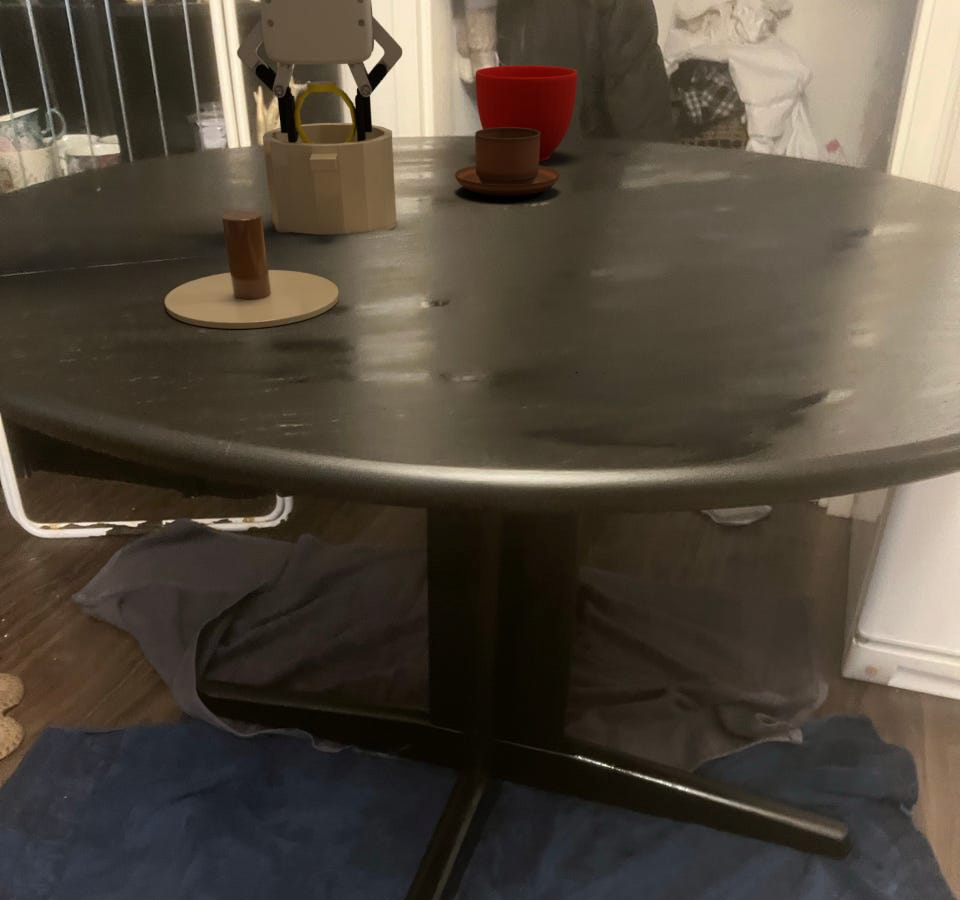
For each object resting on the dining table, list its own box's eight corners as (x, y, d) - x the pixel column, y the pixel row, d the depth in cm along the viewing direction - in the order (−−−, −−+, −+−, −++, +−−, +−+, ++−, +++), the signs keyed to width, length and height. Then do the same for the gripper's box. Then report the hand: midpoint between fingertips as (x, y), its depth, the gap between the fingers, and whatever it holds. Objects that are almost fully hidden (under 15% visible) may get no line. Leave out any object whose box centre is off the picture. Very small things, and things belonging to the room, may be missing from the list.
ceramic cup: (563, 143, 138) (567, 61, 132) (579, 166, 125) (584, 77, 119) (472, 144, 138) (471, 62, 132) (478, 168, 124) (478, 78, 118)
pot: (264, 248, 94) (252, 151, 89) (283, 205, 108) (273, 119, 103) (395, 246, 94) (390, 149, 89) (397, 203, 109) (393, 118, 104)
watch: (360, 148, 98) (356, 80, 95) (357, 153, 96) (352, 84, 92) (301, 147, 98) (294, 80, 95) (296, 152, 96) (289, 83, 93)
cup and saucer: (450, 182, 118) (448, 125, 114) (547, 179, 119) (549, 122, 115) (461, 205, 108) (461, 143, 104) (568, 201, 109) (571, 140, 106)
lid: (150, 338, 74) (130, 240, 69) (184, 284, 85) (168, 196, 80) (334, 334, 74) (325, 236, 70) (344, 281, 85) (336, 193, 81)
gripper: (407, -85, 89) (414, 133, 100) (216, -85, 89) (245, 135, 99) (406, -85, 83) (415, 147, 94) (202, -86, 83) (234, 149, 93)
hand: (327, 139), depth 97 cm, fingers closed on watch, 6 cm apart
